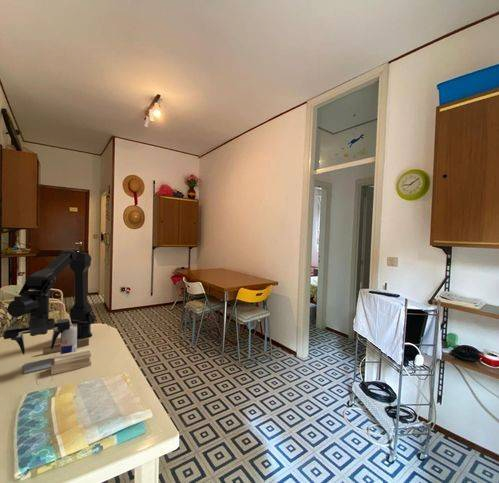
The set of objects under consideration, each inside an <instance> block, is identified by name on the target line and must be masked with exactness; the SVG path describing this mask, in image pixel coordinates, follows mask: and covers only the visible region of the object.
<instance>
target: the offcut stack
mask: <svg viewBox="0 0 499 483" xmlns="http://www.w3.org/2000/svg"><path fill="white" fill-rule="evenodd" d="M91 358H92V353H91V351H90V349H89V348H87V349H86V348H85V349H81V350H77V351H75V352H71V353H66V354H61V355H60V354H57V355H54V356H53V360H52V361H51V368H50V374H51V375H52V376H53V375H55V374H60V373H64V372H69V371H72V370H76V369H81V368H85V367H88V366H92V361H91Z"/></svg>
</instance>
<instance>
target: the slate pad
mask: <svg viewBox="0 0 499 483" xmlns="http://www.w3.org/2000/svg"><path fill="white" fill-rule="evenodd" d="M51 361H53V360H52V357H50V358H45V359H40V360H36V361H30V362H26V363H24V368H23V375H26V374H27V375H28V374H31V373H34V372H35V373H36V372H41V371H44V370H48V369H51Z"/></svg>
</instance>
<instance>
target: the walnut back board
mask: <svg viewBox="0 0 499 483" xmlns="http://www.w3.org/2000/svg"><path fill="white" fill-rule="evenodd" d="M89 345H90V337H84V338H79V339H77V348H78V349H79V348H82V347H83V348H84V347H86V346H89ZM57 352H61V342H59V343H55V344H54V346H53V349H51V344H48V345H43V346H42V355H48V354H52V353H57Z"/></svg>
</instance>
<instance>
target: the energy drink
mask: <svg viewBox="0 0 499 483" xmlns="http://www.w3.org/2000/svg"><path fill="white" fill-rule="evenodd" d="M77 340H78V339H77V324H70V329H68V330H64V332H62V333H60V343H61V351H60V353H59V355H61V354H66V353H71V352H75V351H78V349H77Z"/></svg>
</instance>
